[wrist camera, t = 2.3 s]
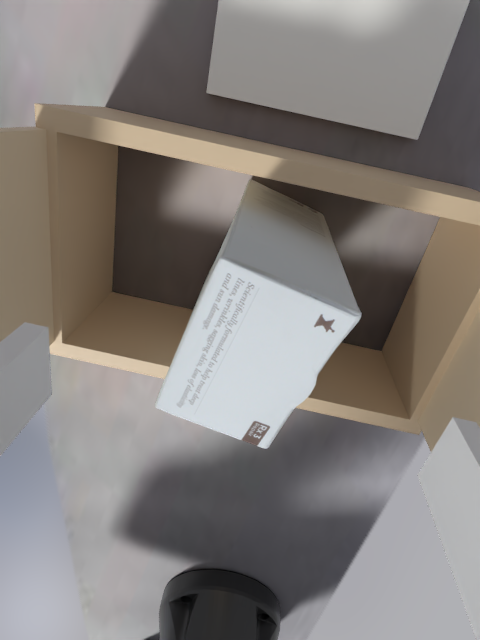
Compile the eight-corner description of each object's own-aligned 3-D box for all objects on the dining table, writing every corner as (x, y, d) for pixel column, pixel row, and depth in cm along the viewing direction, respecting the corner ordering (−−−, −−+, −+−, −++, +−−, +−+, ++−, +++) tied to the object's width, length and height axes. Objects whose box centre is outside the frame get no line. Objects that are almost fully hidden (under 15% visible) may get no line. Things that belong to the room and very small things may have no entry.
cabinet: (390, 364, 32) (457, 522, 19) (98, 299, 32) (-21, 417, 19) (471, 188, 25) (650, 257, 13) (103, 106, 25) (-72, 97, 13)
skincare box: (249, 176, 26) (215, 237, 13) (329, 215, 27) (372, 310, 14) (204, 281, 30) (143, 410, 17) (275, 313, 31) (268, 460, 18)
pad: (413, 139, 24) (417, 139, 24) (208, 93, 24) (206, 93, 24) (494, -78, 20) (501, -85, 19) (239, -134, 20) (237, -144, 19)
